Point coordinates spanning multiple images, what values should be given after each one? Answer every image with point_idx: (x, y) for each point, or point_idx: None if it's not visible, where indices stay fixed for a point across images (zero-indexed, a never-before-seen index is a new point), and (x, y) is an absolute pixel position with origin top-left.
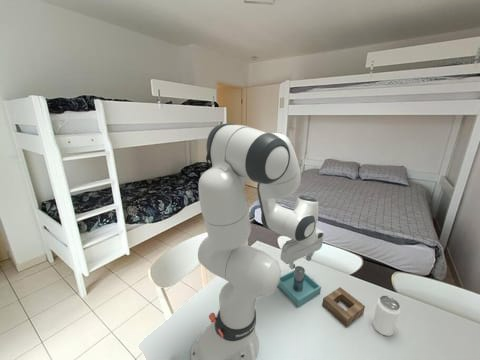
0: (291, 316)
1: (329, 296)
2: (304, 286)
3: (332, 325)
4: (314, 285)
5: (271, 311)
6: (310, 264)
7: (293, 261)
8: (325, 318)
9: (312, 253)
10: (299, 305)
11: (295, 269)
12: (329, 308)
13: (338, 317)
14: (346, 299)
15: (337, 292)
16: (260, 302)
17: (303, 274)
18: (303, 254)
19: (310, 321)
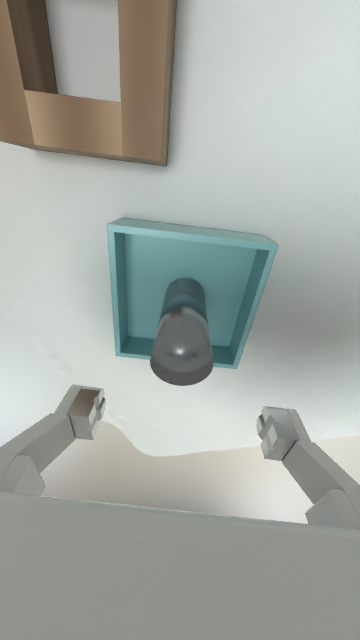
0: (320, 224)
1: (119, 139)
2: (154, 284)
3: (231, 26)
4: (121, 257)
5: (345, 288)
6: (40, 336)
7: (344, 509)
8: (220, 96)
9: (21, 460)
10: (256, 235)
11: (203, 376)
12: (167, 104)
13: (173, 11)
14: (23, 39)
15: (45, 122)
16: (332, 333)
17: (182, 327)
18: (222, 592)
19: (290, 144)
